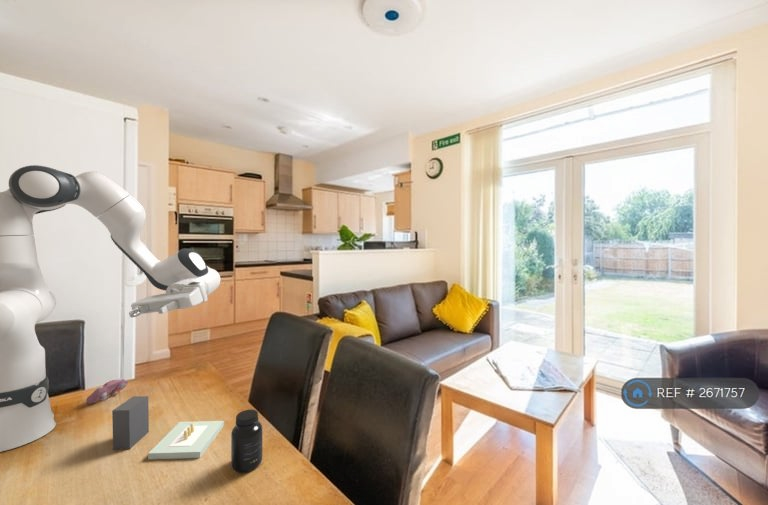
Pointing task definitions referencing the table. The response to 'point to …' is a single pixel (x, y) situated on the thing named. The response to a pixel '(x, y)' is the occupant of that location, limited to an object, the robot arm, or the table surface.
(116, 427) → the block
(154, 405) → the table surface
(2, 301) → the robot arm
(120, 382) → the video game controller
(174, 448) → the pin board
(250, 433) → the supplement bottle
